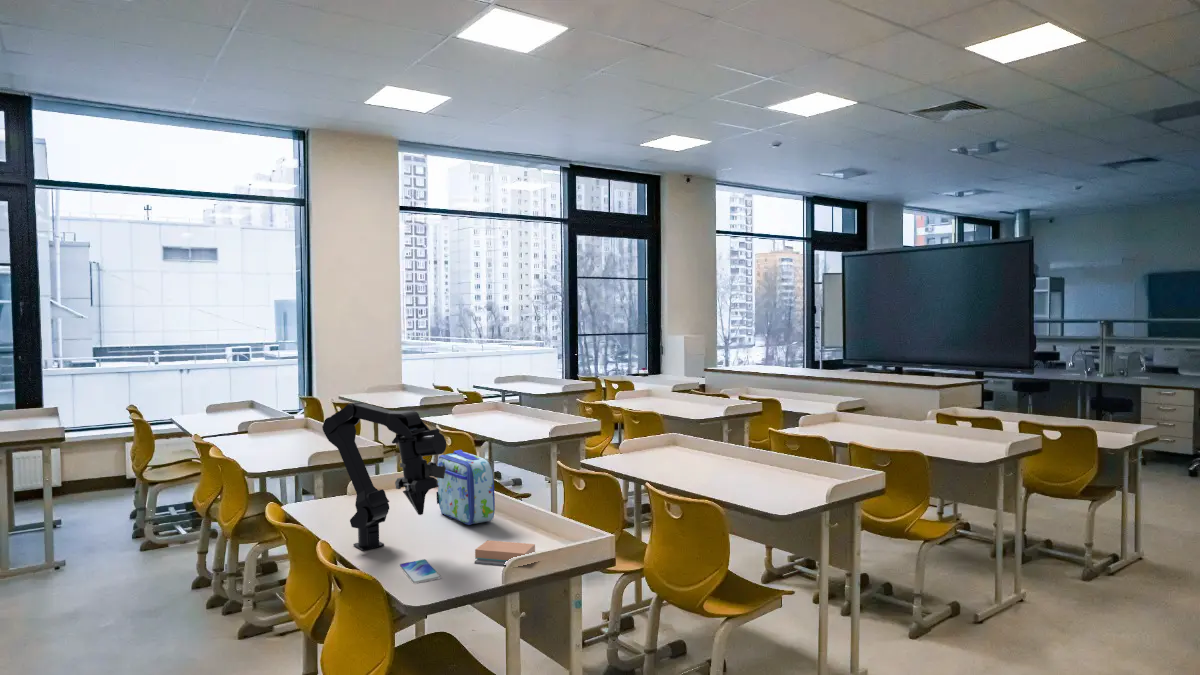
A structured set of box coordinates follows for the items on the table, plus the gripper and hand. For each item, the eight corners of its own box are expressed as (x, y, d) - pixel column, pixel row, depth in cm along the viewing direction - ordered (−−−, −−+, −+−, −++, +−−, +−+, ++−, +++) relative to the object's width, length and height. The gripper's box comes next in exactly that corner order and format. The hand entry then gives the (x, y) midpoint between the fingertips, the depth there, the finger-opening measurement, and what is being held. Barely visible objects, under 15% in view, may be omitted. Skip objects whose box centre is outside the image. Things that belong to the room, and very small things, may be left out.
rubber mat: (474, 563, 195) (474, 561, 195) (492, 548, 206) (492, 547, 206) (510, 566, 192) (510, 564, 192) (526, 551, 204) (526, 549, 204)
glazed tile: (475, 549, 197) (524, 553, 193) (487, 540, 204) (535, 544, 201) (475, 558, 197) (524, 563, 193) (487, 549, 204) (535, 553, 201)
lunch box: (433, 511, 245) (432, 449, 244) (463, 506, 251) (462, 445, 250) (466, 531, 223) (465, 462, 222) (498, 524, 229) (497, 458, 228)
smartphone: (413, 582, 180) (398, 564, 193) (413, 586, 180) (398, 567, 193) (442, 576, 184) (425, 558, 197) (442, 580, 184) (425, 561, 197)
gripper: (451, 452, 198) (461, 510, 197) (428, 451, 213) (437, 505, 213) (411, 460, 192) (420, 520, 191) (390, 459, 207) (399, 514, 207)
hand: (420, 514), depth 201 cm, fingers closed
